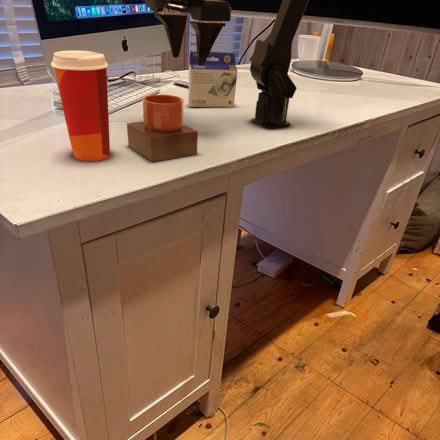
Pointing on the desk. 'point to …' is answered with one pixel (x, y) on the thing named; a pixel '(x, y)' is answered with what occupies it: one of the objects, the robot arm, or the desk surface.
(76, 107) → the coffee cup
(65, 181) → the desk surface
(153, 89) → the desk surface
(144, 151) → the stand
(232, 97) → the ink box
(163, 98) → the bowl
